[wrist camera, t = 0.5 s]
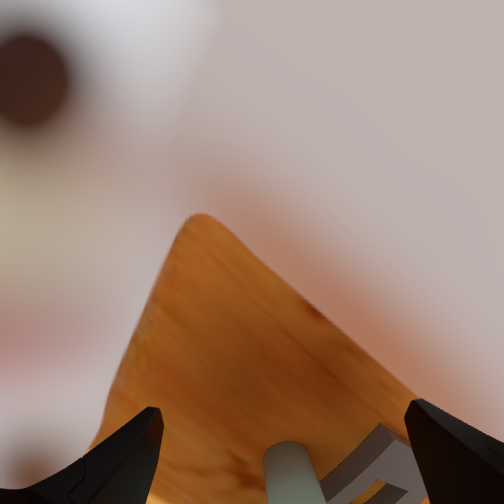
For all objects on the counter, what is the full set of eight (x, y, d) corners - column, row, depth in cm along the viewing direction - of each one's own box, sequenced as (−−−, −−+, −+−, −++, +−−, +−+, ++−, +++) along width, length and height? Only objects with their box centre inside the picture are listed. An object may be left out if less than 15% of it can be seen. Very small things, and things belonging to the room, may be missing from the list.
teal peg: (287, 479, 24) (303, 553, 12) (253, 461, 24) (257, 540, 13) (317, 453, 25) (347, 525, 13) (284, 434, 25) (303, 511, 13)
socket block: (365, 524, 23) (373, 540, 19) (294, 501, 24) (299, 522, 20) (437, 457, 24) (452, 470, 20) (379, 423, 25) (395, 439, 21)
